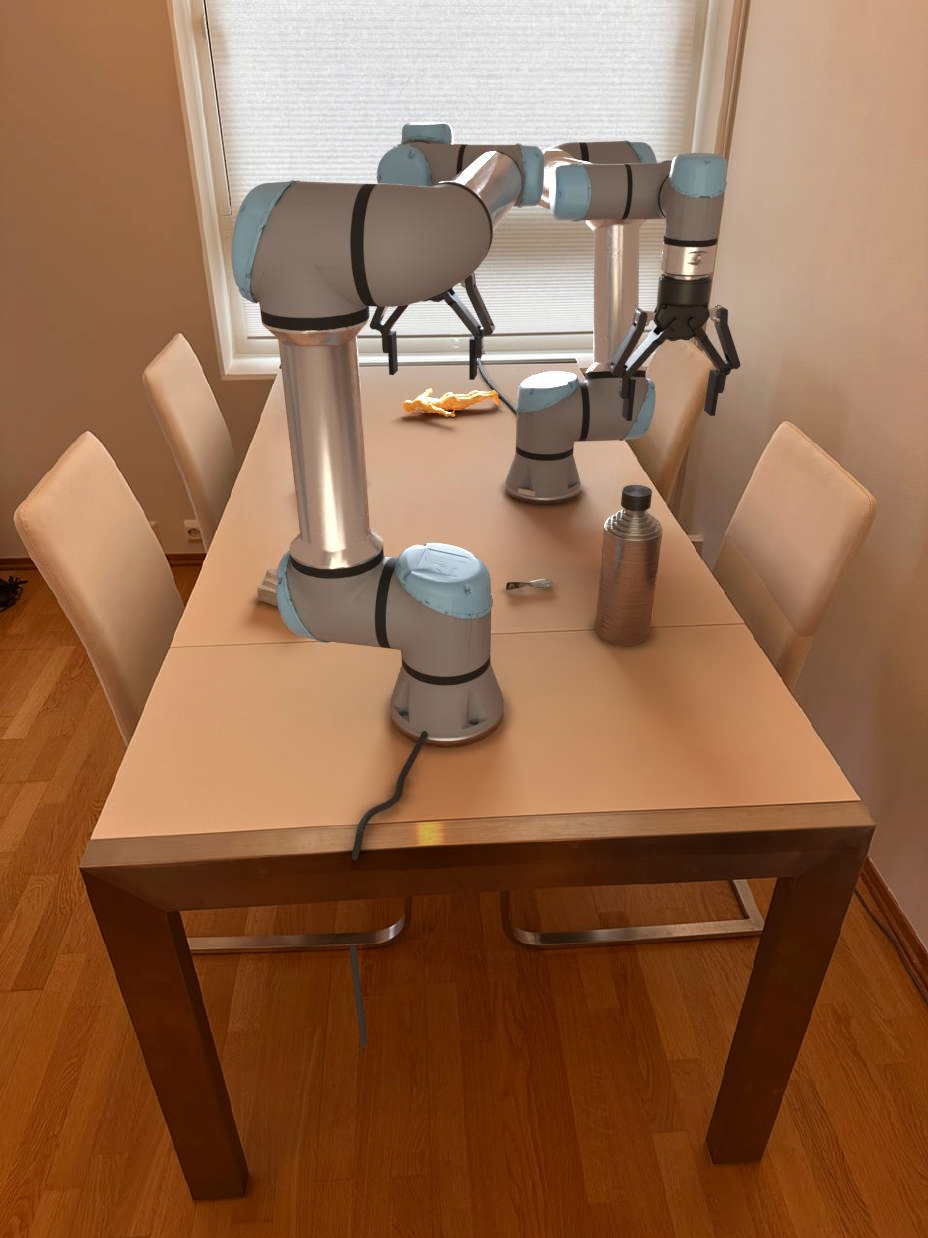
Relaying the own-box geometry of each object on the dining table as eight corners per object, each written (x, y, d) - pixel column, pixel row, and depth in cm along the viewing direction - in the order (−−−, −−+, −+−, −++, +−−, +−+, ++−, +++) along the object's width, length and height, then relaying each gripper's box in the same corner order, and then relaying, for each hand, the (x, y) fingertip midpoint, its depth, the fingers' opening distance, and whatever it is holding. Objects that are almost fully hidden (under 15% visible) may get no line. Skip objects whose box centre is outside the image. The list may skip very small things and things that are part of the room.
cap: (619, 509, 125) (621, 495, 124) (622, 498, 129) (623, 483, 128) (649, 512, 125) (651, 497, 123) (651, 500, 128) (652, 486, 127)
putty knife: (553, 587, 149) (553, 578, 148) (506, 592, 148) (507, 584, 147) (551, 584, 150) (551, 575, 149) (505, 589, 149) (505, 581, 148)
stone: (346, 586, 150) (345, 572, 148) (309, 621, 140) (307, 607, 139) (280, 572, 154) (279, 559, 153) (240, 606, 145) (238, 592, 143)
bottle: (592, 642, 135) (604, 502, 123) (598, 614, 142) (610, 479, 130) (647, 649, 134) (665, 508, 121) (651, 620, 141) (668, 484, 128)
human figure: (395, 413, 223) (394, 398, 221) (438, 390, 237) (438, 375, 235) (462, 429, 215) (462, 413, 213) (502, 404, 229) (503, 388, 227)
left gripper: (514, 235, 138) (511, 372, 149) (359, 231, 142) (367, 364, 153) (505, 244, 131) (503, 386, 143) (344, 238, 136) (354, 377, 147)
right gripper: (610, 283, 124) (598, 428, 136) (778, 276, 128) (753, 419, 139) (595, 271, 131) (585, 411, 142) (756, 265, 134) (733, 403, 145)
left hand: (433, 375), depth 148 cm, fingers open, 13 cm apart
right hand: (668, 415), depth 141 cm, fingers open, 13 cm apart
